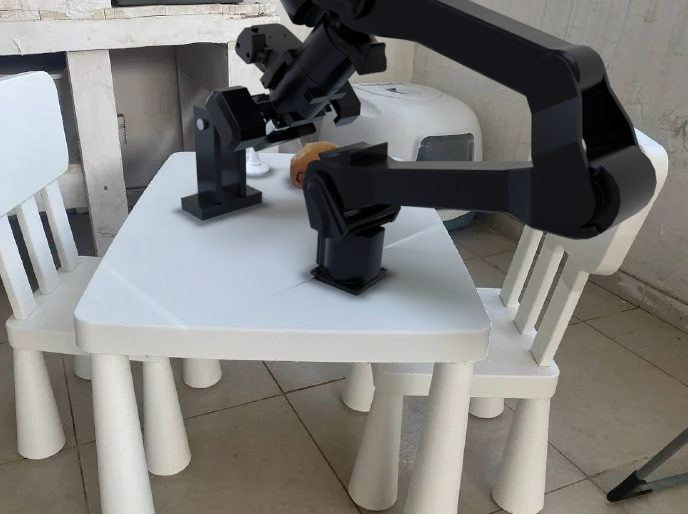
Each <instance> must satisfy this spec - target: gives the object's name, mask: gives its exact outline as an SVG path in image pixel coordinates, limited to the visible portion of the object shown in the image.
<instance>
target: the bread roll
mask: <svg viewBox="0 0 688 514" xmlns="http://www.w3.org/2000/svg"><path fill="white" fill-rule="evenodd" d="M340 147H342V146H340V145H338V144H336V143H334V142H332V141H325V140H322V141H318V142H317V141H316V142H315V141H314V142H306V143H305V144H304V145H303V147H302V148H301V149H299V150H298V151H297V152H296V153H295V154H294V155H293V156H292V157H291V158H290V163H289V178H290V180H291V183H292V184H293V186H294V187H296V188H297V189H300V190H303V180H304V176H305V171H306V169H307V164H308V163H309V162H311V161H313V160H317V159H320V158H319V156H318V153H321V152H324V151H328V150H332V149H336V148H340Z"/></svg>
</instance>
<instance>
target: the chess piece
mask: <svg viewBox="0 0 688 514" xmlns="http://www.w3.org/2000/svg"><path fill="white" fill-rule="evenodd" d="M259 154H260V153H259V151H258V152H255V151H254V149H253V147H251V148H249V154H248V160H247V159H246V175H263V174H265V173H268V172H269V171H270V167H269V165H268V164H266V163H264V162H262V160H260V155H259Z"/></svg>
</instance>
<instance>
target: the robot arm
mask: <svg viewBox="0 0 688 514" xmlns="http://www.w3.org/2000/svg"><path fill="white" fill-rule="evenodd" d="M279 1H280V3H281V5H282V7H283V9H284V11H285V12H286V14H287V16H288V18H289V20H290V22H291V23H292V25H295V26H305V27H307V28H308V29H309V28H311V31H310V32H309V34H308V35H307V36H306V38H304V40H303V41H302V40H300V39H299V38H298V37H297V36H296V35H295V34H294V33H293V32H292V30H290V29H289V28H288V27H287V26H285V25H284V24H281V23H277V22H273V23H272V22H271V23H262V24H252V25H250V26H246V27H245V26H244V28H243V29H242V31H241V32H240V33H239V34H238V35H237V37H236V41H235V45H234V51H235V54H236V55H237V56H238V57H239V58H240V59H241V60H242V61H243V62H244V63H245V64H246V65H254V66H255V67H256V68H257V69H258V70H259V71H260V72H261V73H263V74H262V75H261V77H260V78H259V82H260V83H261V85H262V87H263V89H264V90H268V91H269V93H266V92H262V93H257V94H251V92H250V91H249V90H250V89H248V87H247V86H243V85H240V84H239V85H231V86H226V87H220V88H215V89H214V88H213V89H212V91H211V92H210V93H209V95H208V97H207V99H206V101H205V103H204V105H203V106H205V108H206V110H207V112H208V114H209V116H210V117H211V119H212V121H213V123H214V125H215V127H216V129H217V131H218V133H219V135H220V137H221V139H222V140H223V142H224V144H225V146H226V148H227V149H229V150H231V151H233V152H234V151H238V150H243V149H246V150H247V149H250V148H251V147H253V149H254V151H255V152H258V153H259V152H262V151H264V150H267V149H271V148H274V147H276V146H280V145H282V144H286V143H289V142H293V141H295V140H299V139H303V138H306V137H308V136H312V135H314V134H316V132H317V127H316V125H315V124H314V123H316V122H319V121H320V122H321V121H322V120H323V119H324V118H325V117H326V116H327V114H331V113H332V111H333V110H334V113H335V114H336V116H335V117H334V118H333V119H332V122H333V124H334V125H335V127H336V128H339V127H342V126H348V125H350V124H353V123H354V122H355V121H356V120H357V118H359V117H360V116H361V109H362V102H361V101H360V99H359V97H358V95H357V93H356V92H355V91H356V90H355V89H354V87H353V85H352V84H351V82H350V81H349V79H351V78H352V76H353V75H354V74H355V73H356V74H357V75H358V76H366V75H372V74H378V73H379V74H380V73H384V72H386V71H387V70H388V58H387V55H386V48H387V44H386V42H385V41H379V40H378V39H377V37H378V38H383V39H384V38H386V39H394V40H403V41H409V42H413V43H416V44H419V45H421V46H423V47H424V48H427V49H428V50H431V51H433V52H435V53H437V54H439V55H440V56H443V57H445V58H447V59H449V60H452V61H453V62H455V63H457V64H459V65H461V66H463V67H466V68H467V69H469V70H472V71H473V72H476V73H478V74H479V75H481V76H483V77H486V78H487V79H490V80H492V81H494V82H496V83H498V84H500V85H502V86H504V87H505V88H508V89H510V90H512V91H514V92H516V93H518V94H520V95H522V96H524V97H525V99H526V101H527V104H528V108H529V111H530V115H531V116H530V117H531V119H530V121H531V122H530V125H531V126H530V159H531V160H526V161H525V160H524V161H523V160H518V161H516V160H512V161H511V160H501V161H500V160H498V161H497V160H496V161H495V160H490V161H489V160H477V161H476V160H396V159H394V158H393V157H391V156H390V155H389V153H388V151H389V142H388V141H384V142H380V143H377V144H371V143H368V142H365V141H359V142H355V143H352V144H348V145H344V146H341V147H340V148H336V149H332V150H328V151H324V152H321V153H318V156H319V158H320V159H317V160H313V161H311V162H309V163H308V164H307V169H306V171H305V176H304V180H303V189H302V193H303V197H304V202H305V208H306V213H307V217H308V222H309V223H308V224H309V227H310V228H311V230H314V231H316V233H317V235H316V238H317V239H316V253H315V254H316V255H315V263H316V265H317V266H316V267H314V268H313V269H311V270H310V271H309V274H310V275H311V276H313V278H314V279H317V280H319V281H321V282H324V283H327V284H328V285H332V286H334V287H336V288H338V289H341V290H344V291H346V292H348V293H351V294H353V295H359V294H361V293H362V292H364V291H365V290H366V289H368V288H369V287H370V286H372V285H373V284H375V283H376V282H377V281H379V280H380V279H381V278H384V276H386V275H387V274H388V268H386V267H384V266H382V258H383V252H384V243H385V233H386V227H385V226H384V225H387V224H389V223H391V224H392V223H394V222H396V220H397V218H398V216H399V214H400V213H401V210H402V207H408V208H420V209H422V208H423V209H435V210H450V211H463V212H474V213H475V212H476V213H477V212H478V213H490V214H503V215H504V214H505V215H508V216H511V217H513V218H515V219H516V220H518V221H519V222H521V223H523V224H524V225H526V226H527V227H529V228H530V229H532V230H535V231H539V232H541V233H546V234H551V235H553V236H557V237H561V238H565V239H568V240H574V241H579V240H580V241H581V240H590V239H594V238H597V237H598V236H600V235H601V234H603V233H605V232H607V231H609V230H610V229H612V228H614V227H615V226H617V225H619V224H621V223H623V222H624V221H626V220H628V219H630V218H632V217H633V216H635V215H637V214H639V213H640V212H641V211H642V210H643V209H645V208H646V207H647V206H648V205H649V203H650V202H651V200H652V199H653V197H654V195H655V192H656V188H657V183H658V182H657V173H656V172H657V171H656V168H655V167H654V164H653V162H652V161H651V159H650V158H649V156H648V155H646V154H645V153H644V151H642V149H641V147H640V143H639V140H638V137H637V134H636V130H635V126H634V124H633V121H632V119H631V117H630V116H629V114H628V113H627V111H626V109H625V107H624V106H623V104H622V103H621V100H620V99H619V97H618V96H617V94H616V93H615V91H614V89H613V88H612V86H611V82H610V79H609V76H608V72H607V68H606V65H605V62H604V60H603V59H602V57H601V55H600V53H598V51H596V50H595V49H593V48H592V47H590V46H589V45H584V44H575V43H571V42H569V41H567V40H565V39H562V38H560V37H557V36H555V35H553V34H550V33H548V32H545V31H543V30H541V29H538V28H536V27H534V26H532V25H529V24H527V23H524V22H522V21H519V20H517V19H514V18H512V17H511V16H507V15H505V14H502V13H500V12H497V11H496V10H493V9H491V8H488V7H486V6H484V5H481V4H480V3H476V2H475V1H472V0H279ZM583 142H584V144H583ZM584 145H585V147H584Z"/></svg>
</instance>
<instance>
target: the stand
mask: <svg viewBox="0 0 688 514" xmlns="http://www.w3.org/2000/svg"><path fill="white" fill-rule="evenodd" d="M192 110H193V111H192V112H193V113H192V114H193V115H192V116H193V131H194V133H193V135H194V149H195V151H194V152H195V167H196V168H195V169H196V185H197V193H193V194H189V195H186V196H182V197H181V198H180V203H181V205H180V206H181V210H183V211H184V212H186V213H188V214H190V215H192V216H193V217H195V218H197V219H198V220H200V221H202V222H203V221H207V220H210V219H214V218H217V217H220V216H223V215H227V214H230V213H233V212H236V211H240V210H243V209H246V208H249V207H252V206H256V205H258V204H262V203H263V191H261V190H260V189H257V188H255V187H253V186H252V185H249V184H247V174H246V163H247V149H243V150H238V151H234V152H233V151H231V150H229V149H227V148H226V146H225V144H224V142H223V140H222V139H221V137H220V135H219V133H218V131H217V129H216V127H215V125H214V123H213V121H212V119H211V117H210V116H209V114H208V112H207V110H206V108H205V106H204V105H202V104H195V105H192Z"/></svg>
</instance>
